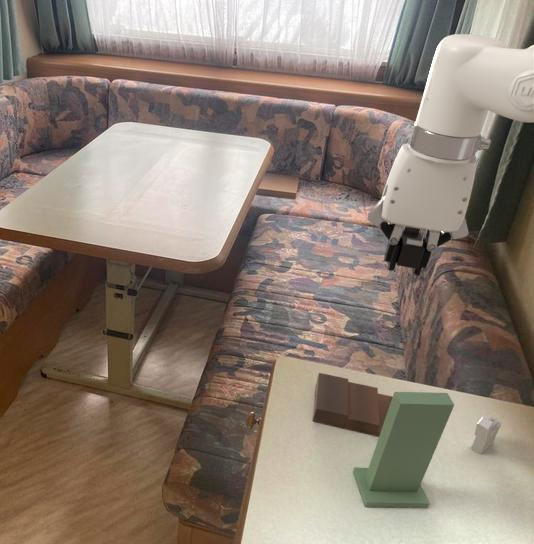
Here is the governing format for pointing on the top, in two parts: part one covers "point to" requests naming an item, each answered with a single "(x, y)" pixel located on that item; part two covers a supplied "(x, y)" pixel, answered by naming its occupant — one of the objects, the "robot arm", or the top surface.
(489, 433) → the white blocky piece
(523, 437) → the top surface
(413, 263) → the clip
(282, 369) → the top surface
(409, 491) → the stand
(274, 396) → the top surface
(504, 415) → the top surface
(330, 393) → the brown stepped wooden block
